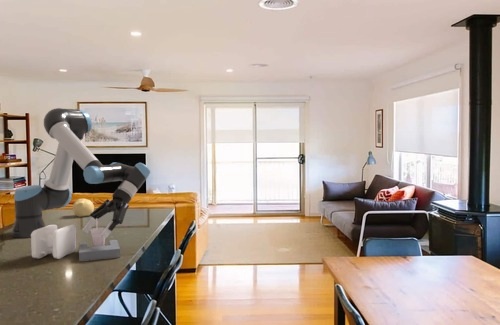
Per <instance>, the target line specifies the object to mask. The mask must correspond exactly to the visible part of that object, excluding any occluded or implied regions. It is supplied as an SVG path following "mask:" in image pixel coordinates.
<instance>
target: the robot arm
mask: <svg viewBox="0 0 500 325" xmlns="http://www.w3.org/2000/svg"><path fill="white" fill-rule="evenodd" d="M92 125H93V122H92V118H91V116H90V114H89V113H88V112H87V111H86V110H82V109H79V108H74V109H73V108H61V107H58V108H57V107H56V108H52V109H51V110H49V111H48V112H47V113H46V114H45V116H44V119H43V127H44V129H45V131H46V133H47V134H48V136H49V137H50V138H51V139H54V140H56V141H57V142H58V146H57V148H56V153H55V156H54V160H53V163H52V168H51V169H50V170H51V171H50V175H49V178H48V179H47V180H45V181H44V184H43V187H42V186H41V185H39V184H33V185H26V186H22V187H19V188H16V190H14V197H13V199H14V212H15V213H14V216H15V217H14V218H15V219H14V222H13V226H12V229H11V237H13V238H19V239H21V238H24V239H25V238H31V234H32V232H33V231H34V230H37V229H40V228H43V227H46V226H47V225H46V224H45V221H44V219H43V218H44V217H43V212H45V211H49V210H50V211H51V210H57V209H61V208H64V207H67V205H69V203H70V202H71V199H72V196H73V195H72V190H71V188H70V185H69V183H68V181H69V177H70V174H71V169H72V166H73V163H74V161H75V162H76V164H77V165H78V166H79V167H80V168H81V169H82V170H83V177H84V178H83V179H84V181H85V182H86V183H88V184H90V185H91V184H92V185H93V184H95V185H97V184H105V183H111V182H112V183H113V182H119V181H120V184H119V186H118V187H117V189H115V191H114V192H113V193H112V199H111V200H109V199H108V198H107V199H106V200H105V201H104V202H103V203H101V204H100V206H98V207H97V208H96V209H94V211H93V212H92V213H91V214H90V215H89V216H90V219H89V220H88V222H86V224H85V226H84V227H83V228H82V231H83V232H84V233H85V234H89V232H90V229H92V228H94V226H96V218H98V220H99V219H100V218H102V217H104V216H105V215H106V214H108V213H112V214H113V215H112V219H111V221H110V222H109V223H108V224H107V226H105V227H104V228H105V229H104V231H103V232H102V233H101V235H102V236H103V237H104V238H105V239H107V238H108V237H109V235H110V234H111V233H112V231H113V230H115V228H116V226H118V225H122V224H123V222H124V220H125V219H124V218H125V216H126V214H127V213H126V212H127V211H128V209H129V207H130V205H129V203H130V201H131V200H132V198H133V197H134V196H135V195H136V193H137V192H138V191H139V190H140V188H141V187H142V186H143V185H144V183H145V182H146V181H147V180H148V178H149V176H150V174H151V170H150V168H149V167H148V166H147V165H146V164H144V163H142V162H138V163H136V164H135V165H134V166H131V165H127V164H123V163H121V162H112V163H110V164H102V163H101V161H100V160H99V159H98V158H97V157H96V156H95V154H93V153H92V151H90V149H89V148H88V147H87V146H86V145H85V144H84V143H83V142H82V140H83V139H84V136H85V134H88V133H90V131H91V130H92Z"/></svg>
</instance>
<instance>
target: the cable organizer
mask: <svg viewBox="0 0 500 325" xmlns="http://www.w3.org/2000/svg"><path fill="white" fill-rule="evenodd" d="M45 226H46V227H43V228H40V229H37V230H34V231H33V232H32V234H31V237H30V246H31V257H32V258H33V259H39V260H40V259H42V258H43V257H45V256H47V255H51V256H53V258H54V259H57V260H61V259H63V258H64V257H65V256H67V255H71V254H72V253H74V251H75V250H76V249H77V228H76V225H75V224H67V225H66V226H63V227H60V228H58V226H57V224H49V225H45Z"/></svg>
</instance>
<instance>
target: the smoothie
mask: <svg viewBox="0 0 500 325" xmlns="http://www.w3.org/2000/svg"><path fill="white" fill-rule="evenodd" d="M98 220H99V219H98V218H96V223H95V226H96V227H92V228H91V229H90V231H89V232H90V235H91V240H92V245H93V246H92V247H96V246H105V241H106V238H104V237H103V236H102V235H101V233H102V232H103V231H104V229H105V228H106V227H104V226H103V227H102V226H101V227H100V226H99V222H98Z"/></svg>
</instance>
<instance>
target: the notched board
mask: <svg viewBox="0 0 500 325" xmlns="http://www.w3.org/2000/svg"><path fill="white" fill-rule="evenodd" d="M108 241H109V244H107V245H104V246H96V247H93V246H88V243H87V241H84V242H79V243H78V262H87V261H88V262H89V260H90V261H98V260H106V259H107V260H108V259H117V258H121V248H120V244H119V241H118V239H109V240H108Z"/></svg>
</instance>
